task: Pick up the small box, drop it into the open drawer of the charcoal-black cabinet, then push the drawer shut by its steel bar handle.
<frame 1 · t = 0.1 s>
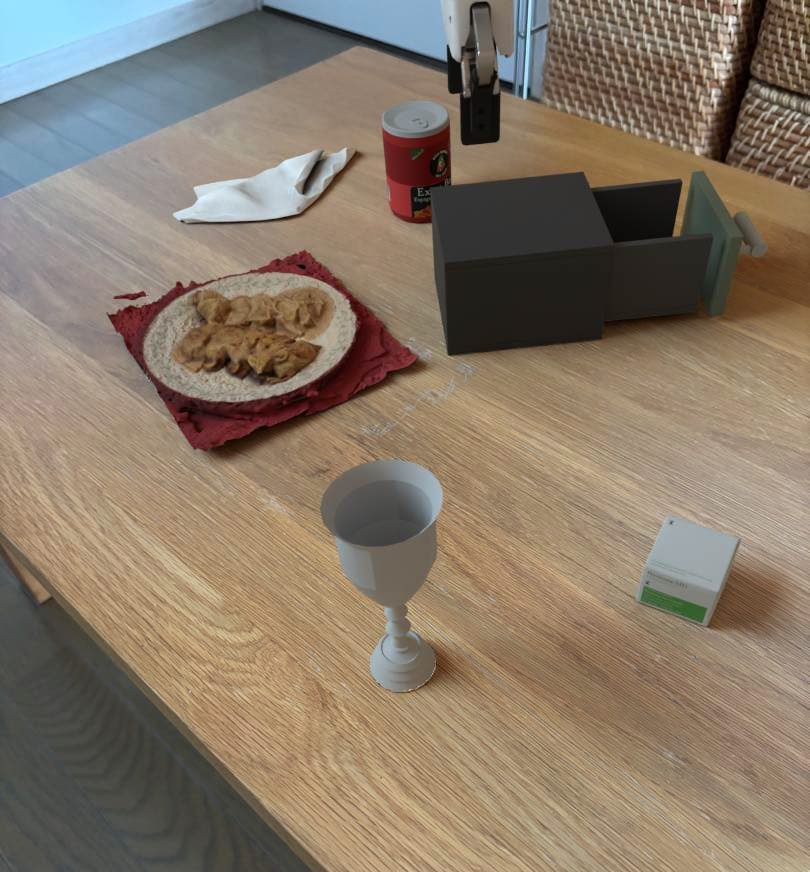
hand: (472, 115, 75), 21 cm above the table, tool pointing down, fingers open, 9 cm apart
cloth: (275, 194, 110), on the table
chalice: (403, 664, 64), on the table
drawer: (663, 247, 87), point 5 cm above the table, slide at 11.0 cm
cabinet: (514, 307, 91), on the table
canned food: (420, 208, 105), on the table
plate with food: (259, 347, 90), on the table
small box: (681, 591, 67), on the table
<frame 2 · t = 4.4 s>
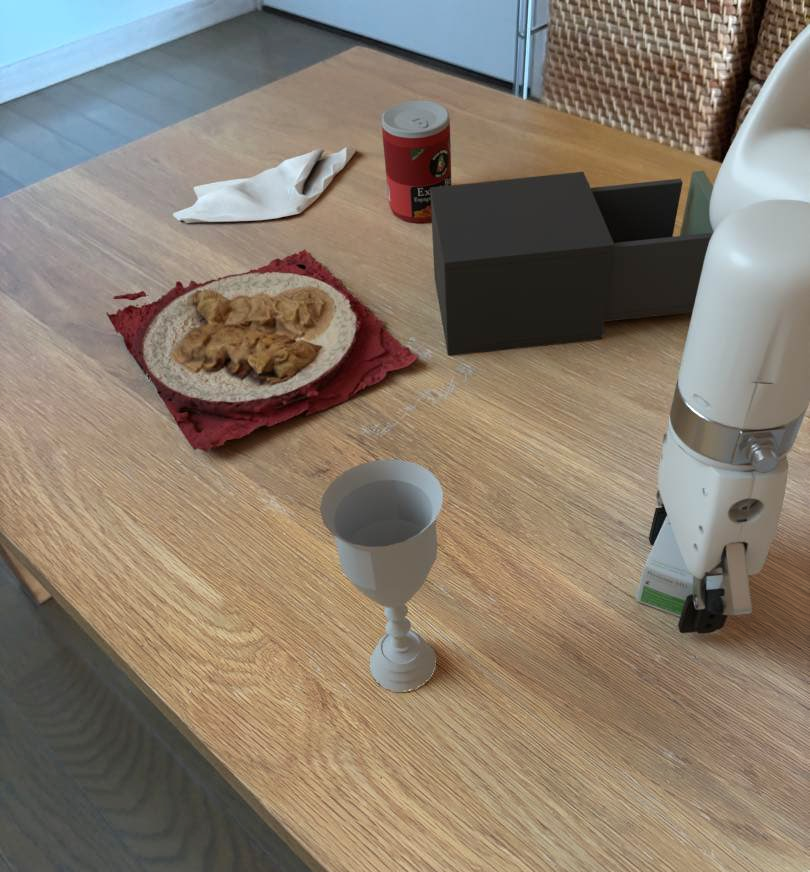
hand: (683, 582, 66), 1 cm above the table, tool pointing down, fingers closed on small box, 7 cm apart
small box: (681, 591, 67), on the table, touching gripper
everything else where it was.
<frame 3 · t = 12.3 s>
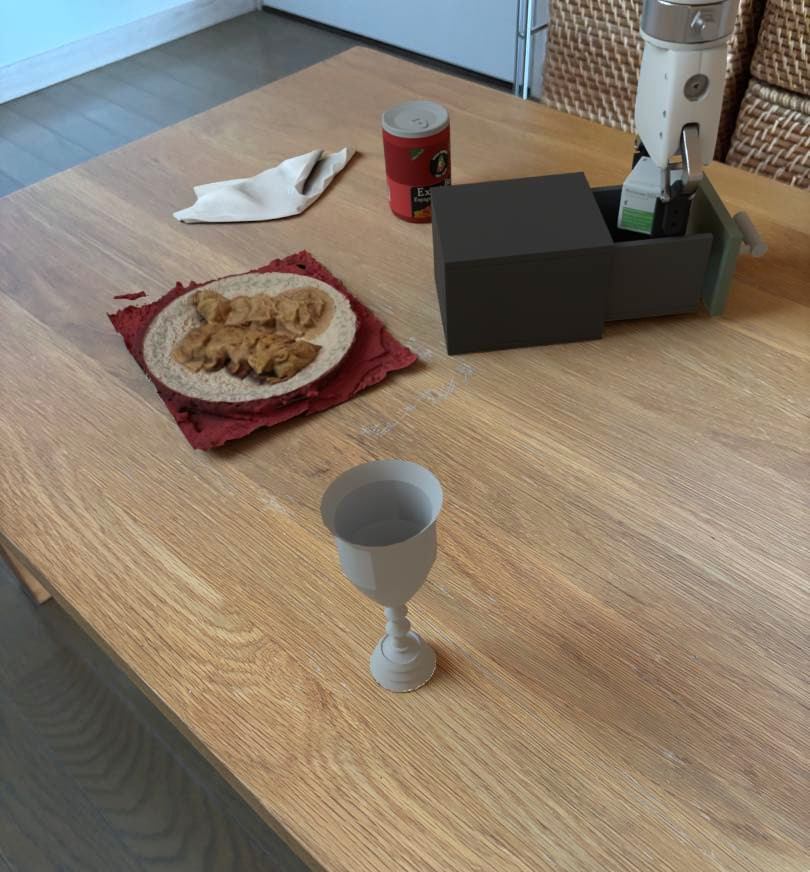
hand: (655, 212, 84), 9 cm above the table, tool pointing down, fingers closed on small box, 7 cm apart
drawer: (662, 247, 87), point 5 cm above the table, slide at 11.0 cm, touching gripper
small box: (653, 223, 85), point 8 cm above the table, touching gripper
everything else where it was.
when the fingers open (13 cm above the table, at t = 36.5 s): small box drops 10 cm, resting on drawer.
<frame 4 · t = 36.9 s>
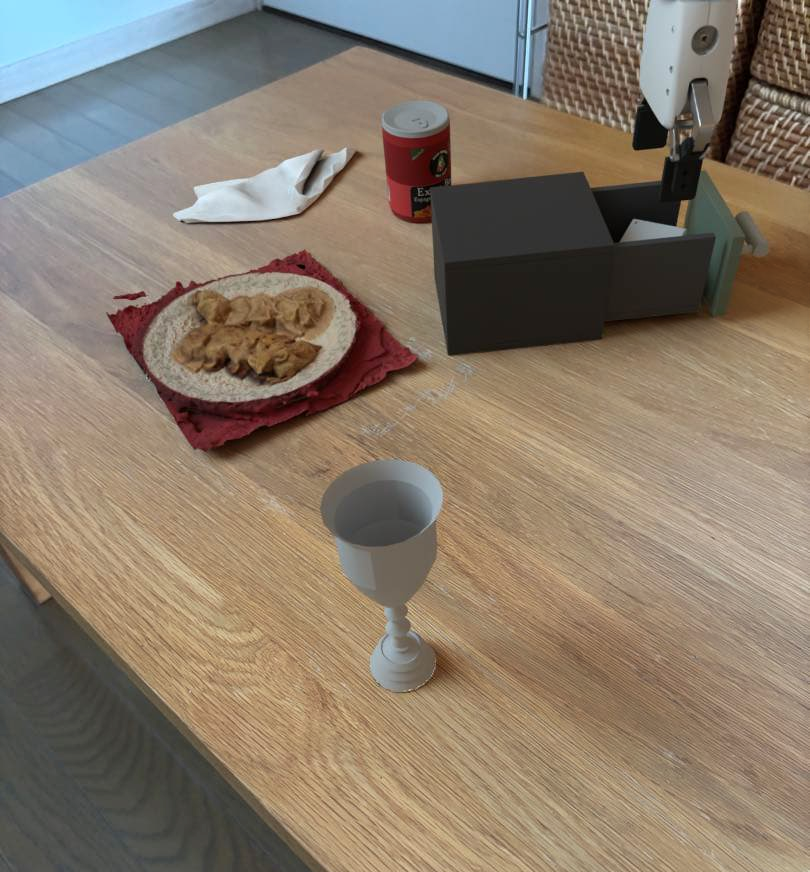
hand: (662, 172, 81), 13 cm above the table, tool pointing down, fingers open, 9 cm apart
drawer: (665, 247, 87), point 5 cm above the table, slide at 11.2 cm, touching small box
small box: (644, 280, 89), point 2 cm above the table, touching drawer
everything else where it was.
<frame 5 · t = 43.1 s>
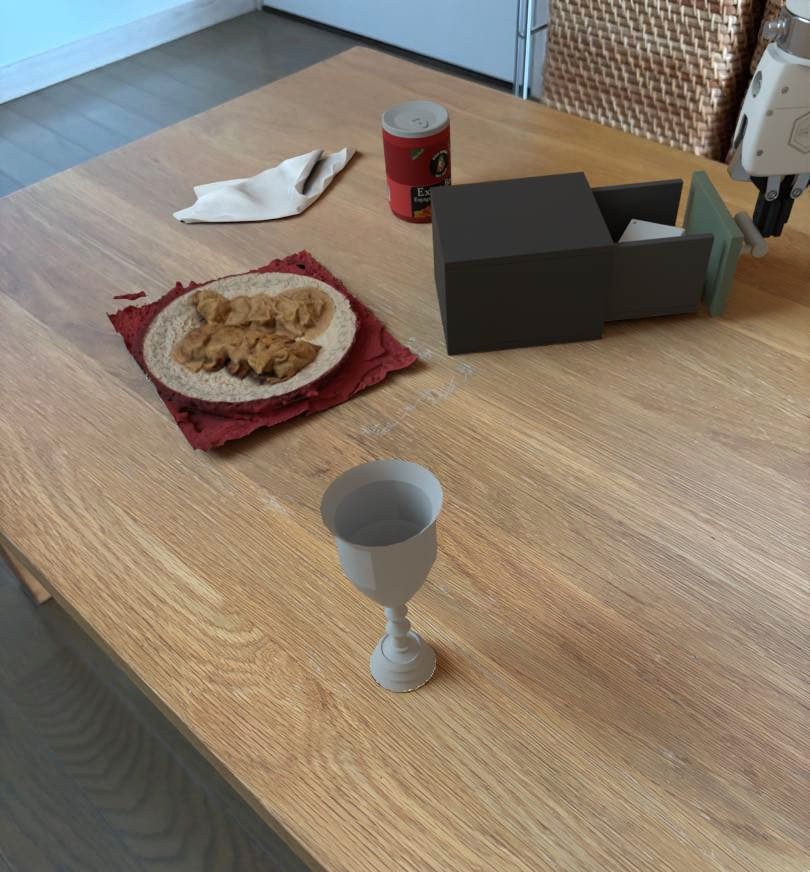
hand: (766, 229, 86), 6 cm above the table, tool pointing down, fingers closed
drawer: (663, 247, 87), point 5 cm above the table, slide at 11.1 cm, touching gripper, small box
everything else where it was.
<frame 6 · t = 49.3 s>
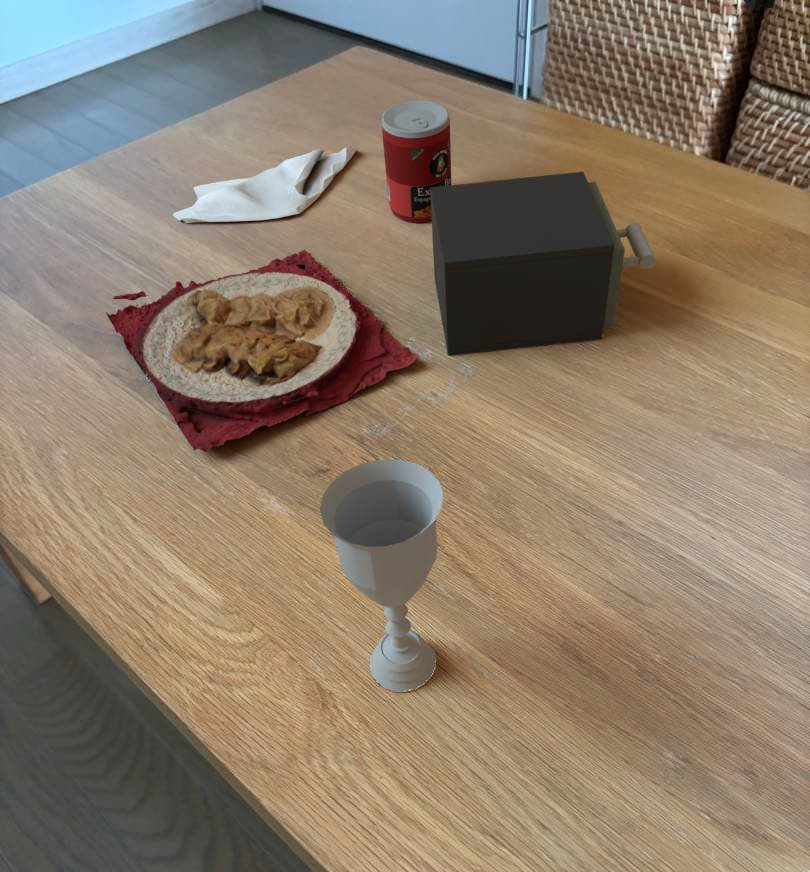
hand: (756, 2, 70), 27 cm above the table, tool pointing down, fingers closed
drawer: (554, 259, 87), point 5 cm above the table, slide at 0.0 cm, touching small box
small box: (537, 292, 89), point 2 cm above the table, touching drawer
everything else where it was.
at the end: small box inside the target area in the cabinet (2.3 cm from its centre), point 1.8 cm above the cabinet's base; drawer slide at 0.0 cm; the gripper is holding nothing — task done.
